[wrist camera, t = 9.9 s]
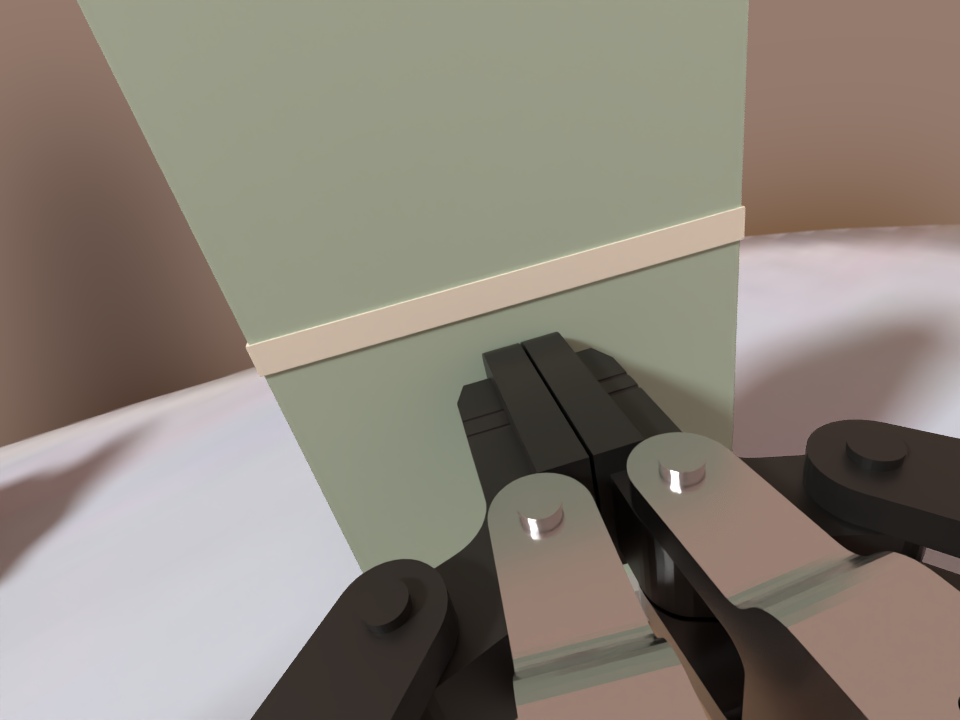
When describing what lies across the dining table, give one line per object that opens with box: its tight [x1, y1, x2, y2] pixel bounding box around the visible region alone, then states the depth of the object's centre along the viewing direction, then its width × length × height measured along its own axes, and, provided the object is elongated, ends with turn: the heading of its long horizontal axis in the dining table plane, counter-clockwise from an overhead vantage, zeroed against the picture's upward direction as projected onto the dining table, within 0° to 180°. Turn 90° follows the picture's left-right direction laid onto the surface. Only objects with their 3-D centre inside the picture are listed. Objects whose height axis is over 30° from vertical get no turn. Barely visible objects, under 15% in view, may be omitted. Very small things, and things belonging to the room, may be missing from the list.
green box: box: [77, 0, 749, 621], centre depth 12 cm, size 4×9×15 cm, turn 102°
